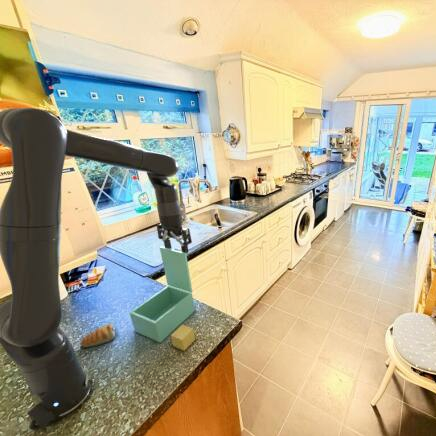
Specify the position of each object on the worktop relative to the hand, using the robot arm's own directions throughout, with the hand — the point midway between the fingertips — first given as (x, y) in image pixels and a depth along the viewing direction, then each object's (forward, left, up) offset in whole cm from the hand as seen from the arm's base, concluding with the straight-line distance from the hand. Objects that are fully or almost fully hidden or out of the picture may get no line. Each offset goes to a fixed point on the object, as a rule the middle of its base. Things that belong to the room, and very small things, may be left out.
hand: (176, 251), depth 90 cm
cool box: (-10, 0, -25) cm, 27 cm away
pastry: (-25, +14, -25) cm, 38 cm away
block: (-15, -14, -25) cm, 33 cm away
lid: (-2, 0, -7) cm, 7 cm away
